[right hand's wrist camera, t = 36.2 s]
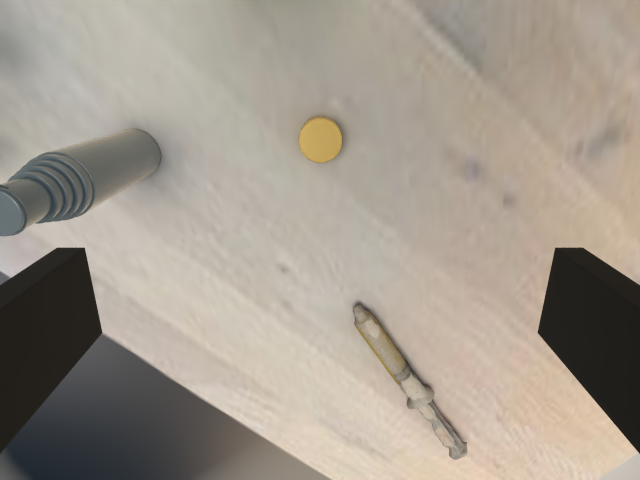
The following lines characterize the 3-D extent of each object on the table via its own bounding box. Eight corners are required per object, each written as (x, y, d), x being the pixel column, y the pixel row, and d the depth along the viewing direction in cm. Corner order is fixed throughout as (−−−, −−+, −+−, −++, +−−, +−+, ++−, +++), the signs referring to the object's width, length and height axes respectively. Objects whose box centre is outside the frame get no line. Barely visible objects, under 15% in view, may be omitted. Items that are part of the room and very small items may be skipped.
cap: (305, 111, 42) (304, 113, 40) (345, 121, 42) (347, 124, 40) (295, 152, 44) (294, 157, 41) (335, 162, 44) (336, 167, 42)
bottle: (156, 128, 43) (27, 170, 24) (164, 176, 44) (49, 251, 25) (108, 129, 43) (-60, 172, 24) (117, 177, 44) (-32, 253, 26)
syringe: (344, 307, 50) (345, 320, 47) (372, 292, 49) (375, 304, 46) (439, 449, 57) (444, 466, 55) (465, 437, 57) (472, 455, 54)
